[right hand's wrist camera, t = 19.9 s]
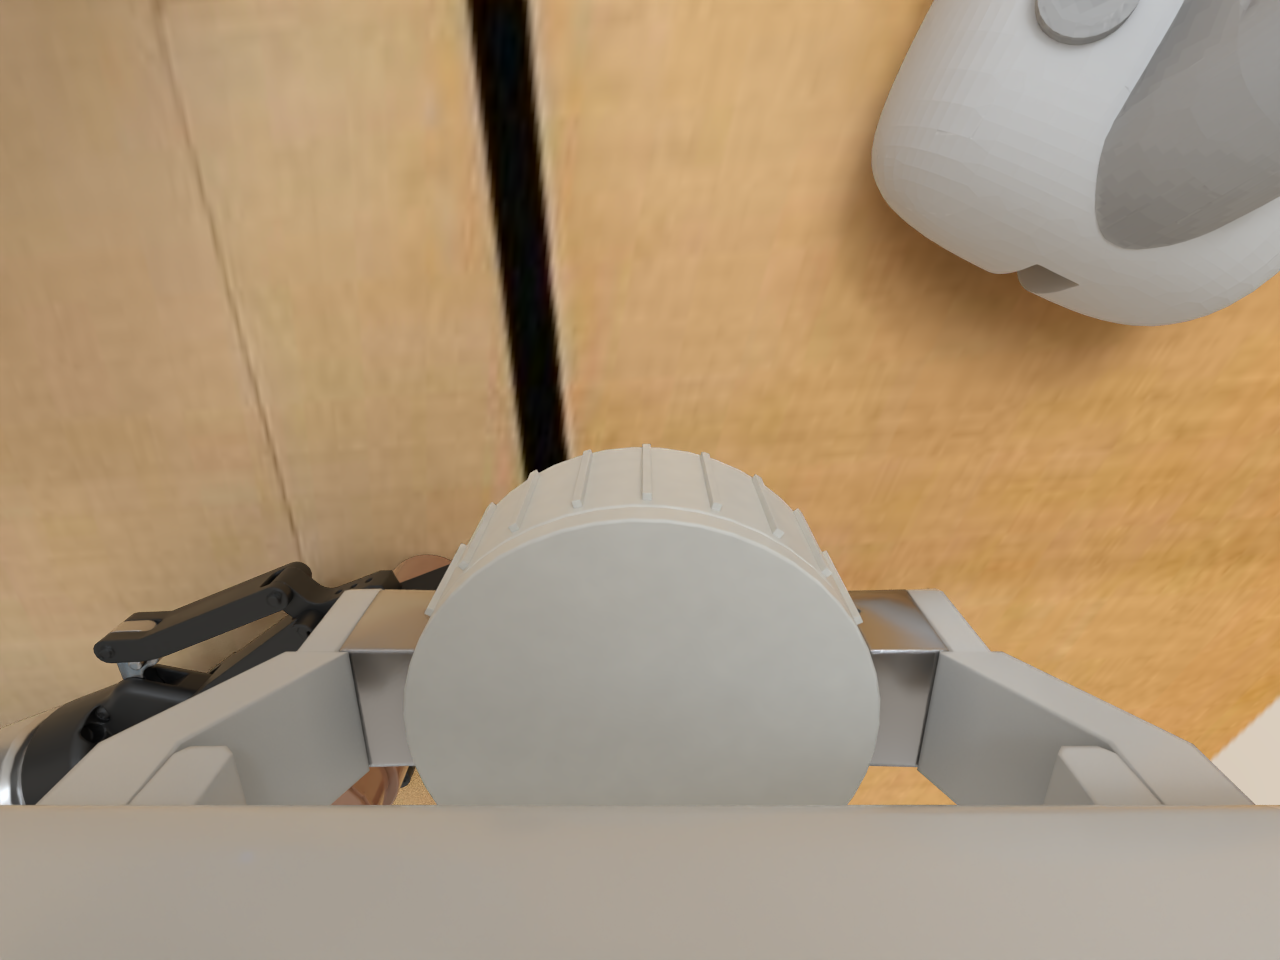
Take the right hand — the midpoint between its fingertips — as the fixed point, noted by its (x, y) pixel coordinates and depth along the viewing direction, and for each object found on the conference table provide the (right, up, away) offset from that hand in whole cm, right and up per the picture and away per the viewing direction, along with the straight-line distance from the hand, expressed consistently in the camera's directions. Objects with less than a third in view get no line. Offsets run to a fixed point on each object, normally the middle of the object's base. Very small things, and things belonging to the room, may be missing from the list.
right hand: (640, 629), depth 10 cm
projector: (+20, +22, +19) cm, 35 cm away
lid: (0, -1, -2) cm, 2 cm away
